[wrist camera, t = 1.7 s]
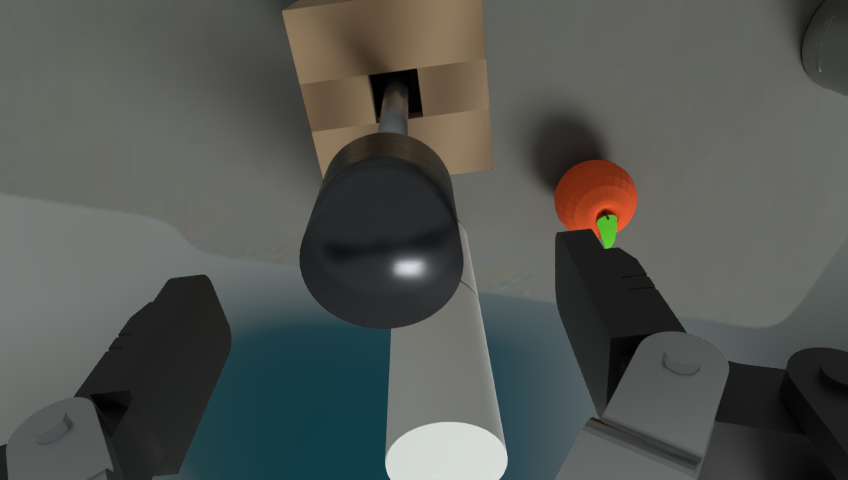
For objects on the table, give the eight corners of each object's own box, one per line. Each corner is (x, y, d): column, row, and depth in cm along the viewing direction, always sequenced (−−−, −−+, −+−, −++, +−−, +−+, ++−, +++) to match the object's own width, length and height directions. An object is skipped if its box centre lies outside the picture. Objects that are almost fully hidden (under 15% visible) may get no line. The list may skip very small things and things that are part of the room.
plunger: (448, -11, 32) (520, 106, 11) (459, 104, 35) (528, 355, 15) (333, 6, 32) (193, 149, 11) (355, 118, 35) (280, 383, 15)
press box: (469, -67, 39) (513, -62, 22) (481, 95, 45) (522, 191, 29) (309, -43, 39) (238, -22, 23) (342, 113, 45) (305, 218, 29)
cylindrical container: (400, 276, 54) (393, 505, 33) (391, 215, 51) (377, 427, 29) (469, 269, 54) (508, 495, 33) (465, 207, 50) (506, 416, 29)
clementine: (626, 213, 51) (655, 252, 45) (555, 232, 52) (574, 273, 46) (616, 138, 47) (647, 169, 41) (540, 160, 48) (559, 194, 42)
